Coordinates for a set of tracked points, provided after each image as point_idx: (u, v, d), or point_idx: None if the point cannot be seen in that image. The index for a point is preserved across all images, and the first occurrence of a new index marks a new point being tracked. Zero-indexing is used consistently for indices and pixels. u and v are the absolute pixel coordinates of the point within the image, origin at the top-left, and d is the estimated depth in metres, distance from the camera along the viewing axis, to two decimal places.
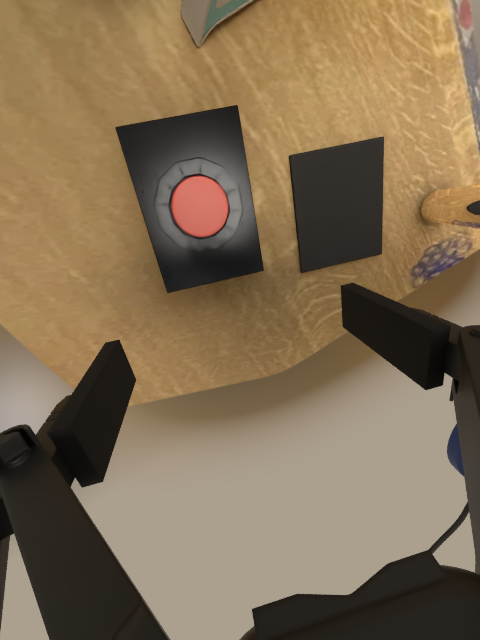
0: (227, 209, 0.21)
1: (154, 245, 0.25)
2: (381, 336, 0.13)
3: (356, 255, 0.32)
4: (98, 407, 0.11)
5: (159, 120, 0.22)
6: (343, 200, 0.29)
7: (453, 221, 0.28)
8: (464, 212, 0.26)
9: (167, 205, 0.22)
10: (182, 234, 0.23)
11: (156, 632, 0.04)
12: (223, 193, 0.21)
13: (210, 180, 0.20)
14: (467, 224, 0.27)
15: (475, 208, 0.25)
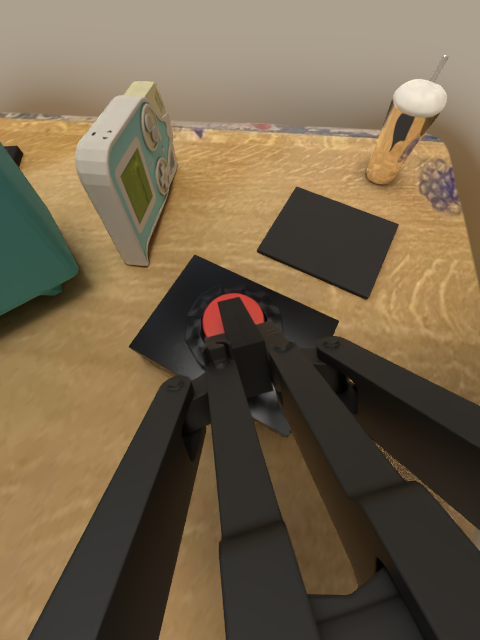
0: (253, 300, 0.20)
1: None
2: None
3: (384, 243, 0.28)
4: None
5: (154, 312, 0.23)
6: (323, 231, 0.29)
7: (406, 151, 0.28)
8: (403, 135, 0.26)
9: None
10: None
11: (290, 554, 0.04)
12: (238, 294, 0.20)
13: (221, 297, 0.20)
14: (417, 136, 0.26)
15: (406, 122, 0.25)
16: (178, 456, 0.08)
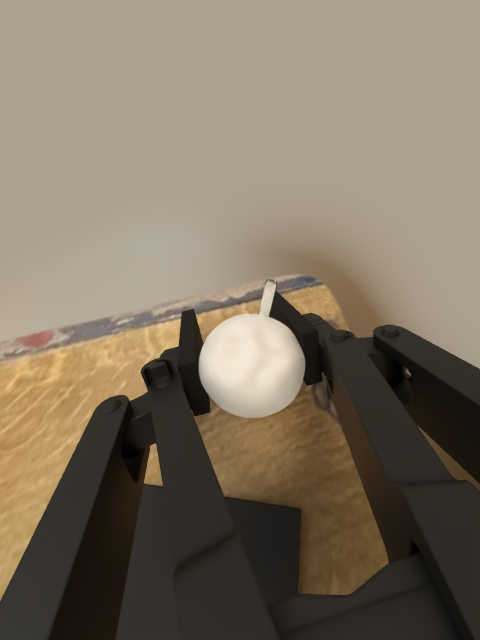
0: None
1: None
2: None
3: (288, 576, 0.15)
4: (198, 355, 0.13)
5: None
6: (171, 589, 0.15)
7: None
8: None
9: None
10: None
11: (246, 565, 0.04)
12: None
13: None
14: None
15: None
16: (119, 479, 0.08)
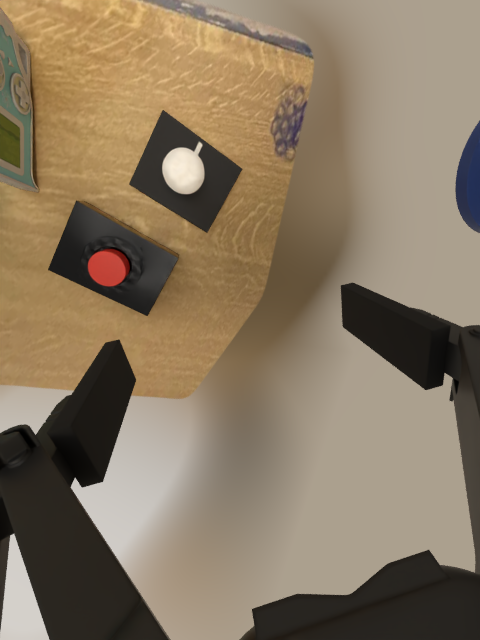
0: (117, 257, 0.33)
1: (117, 300, 0.39)
2: (381, 336, 0.13)
3: (227, 187, 0.39)
4: (98, 407, 0.11)
5: (58, 246, 0.35)
6: None
7: None
8: None
9: None
10: (118, 285, 0.37)
11: (156, 631, 0.04)
12: (108, 252, 0.33)
13: (97, 253, 0.33)
14: None
15: None
16: None
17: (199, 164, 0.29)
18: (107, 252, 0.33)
